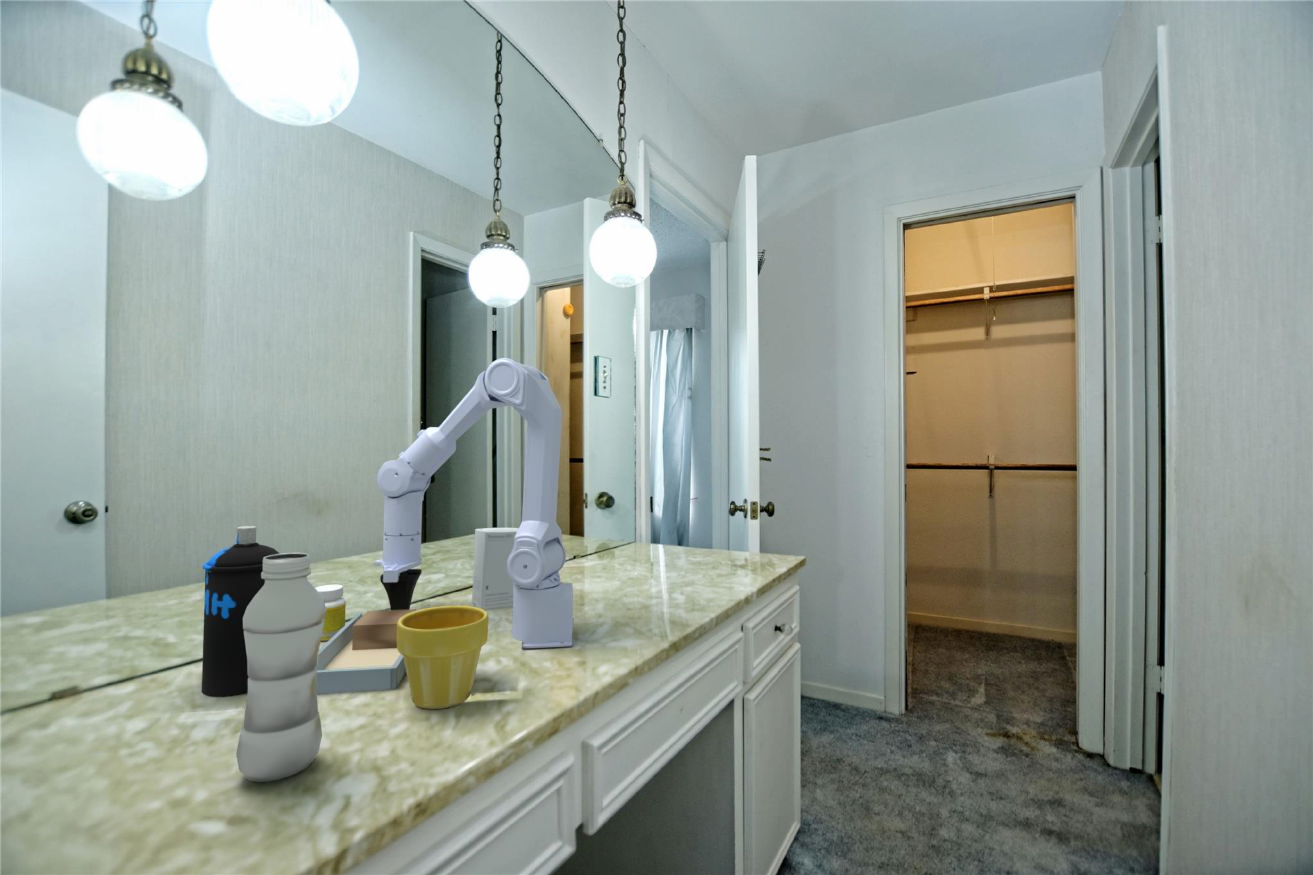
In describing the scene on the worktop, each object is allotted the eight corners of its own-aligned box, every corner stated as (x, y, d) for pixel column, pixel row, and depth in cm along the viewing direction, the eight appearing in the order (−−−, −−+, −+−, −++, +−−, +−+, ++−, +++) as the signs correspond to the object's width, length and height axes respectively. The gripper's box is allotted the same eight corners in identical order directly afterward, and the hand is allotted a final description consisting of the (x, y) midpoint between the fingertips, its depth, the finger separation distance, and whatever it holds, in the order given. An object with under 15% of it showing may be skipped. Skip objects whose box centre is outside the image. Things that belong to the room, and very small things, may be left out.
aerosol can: (274, 671, 75) (278, 520, 75) (289, 692, 69) (293, 528, 69) (194, 689, 69) (199, 525, 69) (202, 713, 63) (208, 534, 63)
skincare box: (481, 616, 100) (483, 532, 100) (470, 607, 105) (472, 527, 105) (526, 609, 105) (528, 529, 105) (513, 601, 110) (515, 524, 110)
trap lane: (464, 630, 92) (465, 609, 92) (439, 694, 69) (439, 665, 69) (357, 635, 89) (358, 613, 89) (292, 703, 66) (293, 673, 66)
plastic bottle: (262, 752, 55) (269, 549, 56) (334, 751, 56) (340, 550, 56) (217, 793, 49) (224, 563, 49) (299, 791, 50) (305, 564, 50)
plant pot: (419, 677, 74) (421, 602, 74) (497, 680, 73) (499, 605, 73) (377, 715, 63) (379, 628, 63) (468, 719, 63) (470, 631, 63)
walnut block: (415, 631, 88) (416, 609, 88) (404, 647, 81) (405, 623, 81) (367, 633, 87) (367, 610, 87) (352, 650, 80) (352, 625, 80)
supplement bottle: (351, 638, 87) (353, 584, 87) (330, 649, 83) (332, 592, 83) (322, 637, 88) (324, 583, 88) (300, 647, 83) (302, 590, 83)
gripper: (388, 527, 99) (386, 604, 99) (362, 541, 85) (360, 631, 85) (430, 526, 101) (428, 602, 101) (412, 540, 87) (409, 629, 86)
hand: (400, 615), depth 93 cm, fingers closed
